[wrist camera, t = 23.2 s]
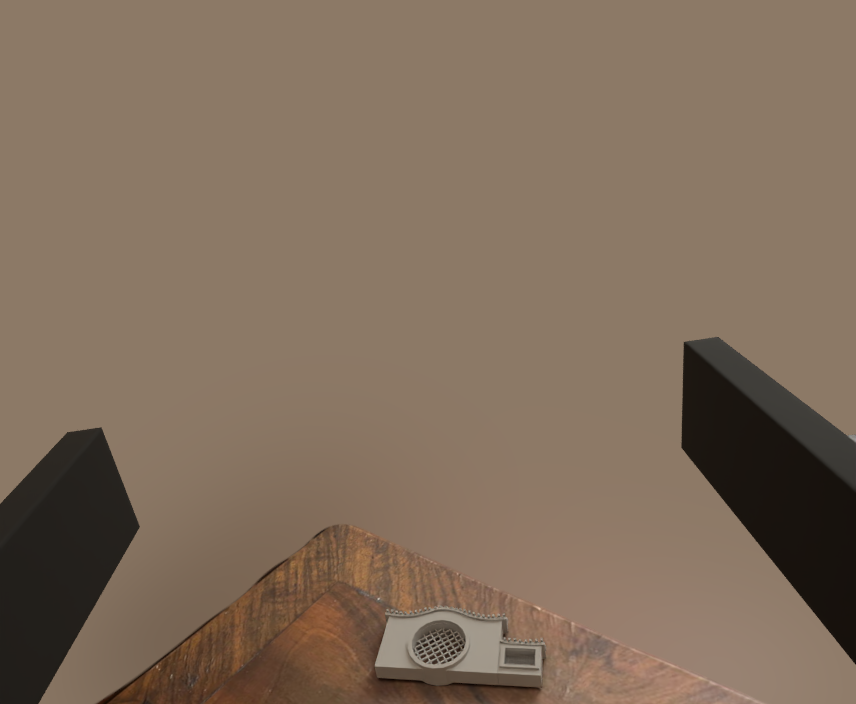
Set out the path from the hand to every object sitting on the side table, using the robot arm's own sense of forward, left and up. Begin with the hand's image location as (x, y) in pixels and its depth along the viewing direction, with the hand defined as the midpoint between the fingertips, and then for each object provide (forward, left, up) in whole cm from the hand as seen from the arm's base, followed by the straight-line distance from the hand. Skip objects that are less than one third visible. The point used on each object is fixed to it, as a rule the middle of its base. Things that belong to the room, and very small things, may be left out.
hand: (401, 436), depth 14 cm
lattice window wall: (+12, +14, -30) cm, 35 cm away
